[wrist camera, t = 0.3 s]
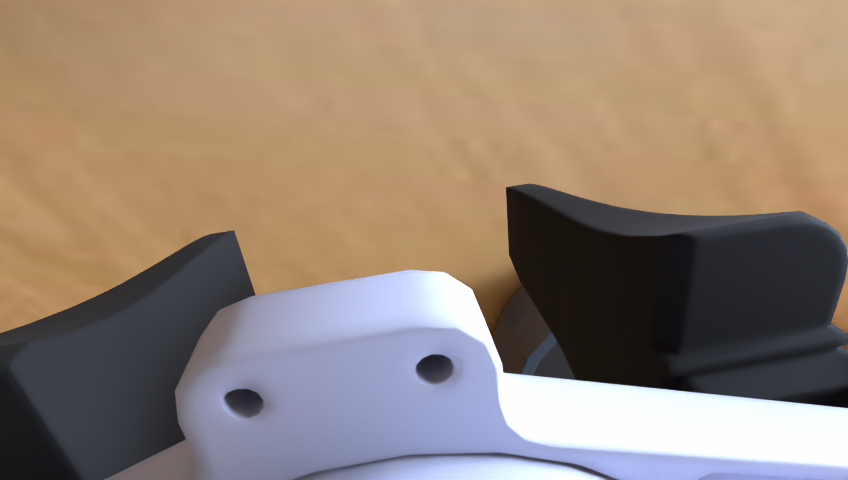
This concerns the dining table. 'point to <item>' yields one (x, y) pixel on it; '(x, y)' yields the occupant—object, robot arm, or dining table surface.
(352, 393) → the robot arm
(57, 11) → the dining table surface
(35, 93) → the dining table surface
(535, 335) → the blue bowl
